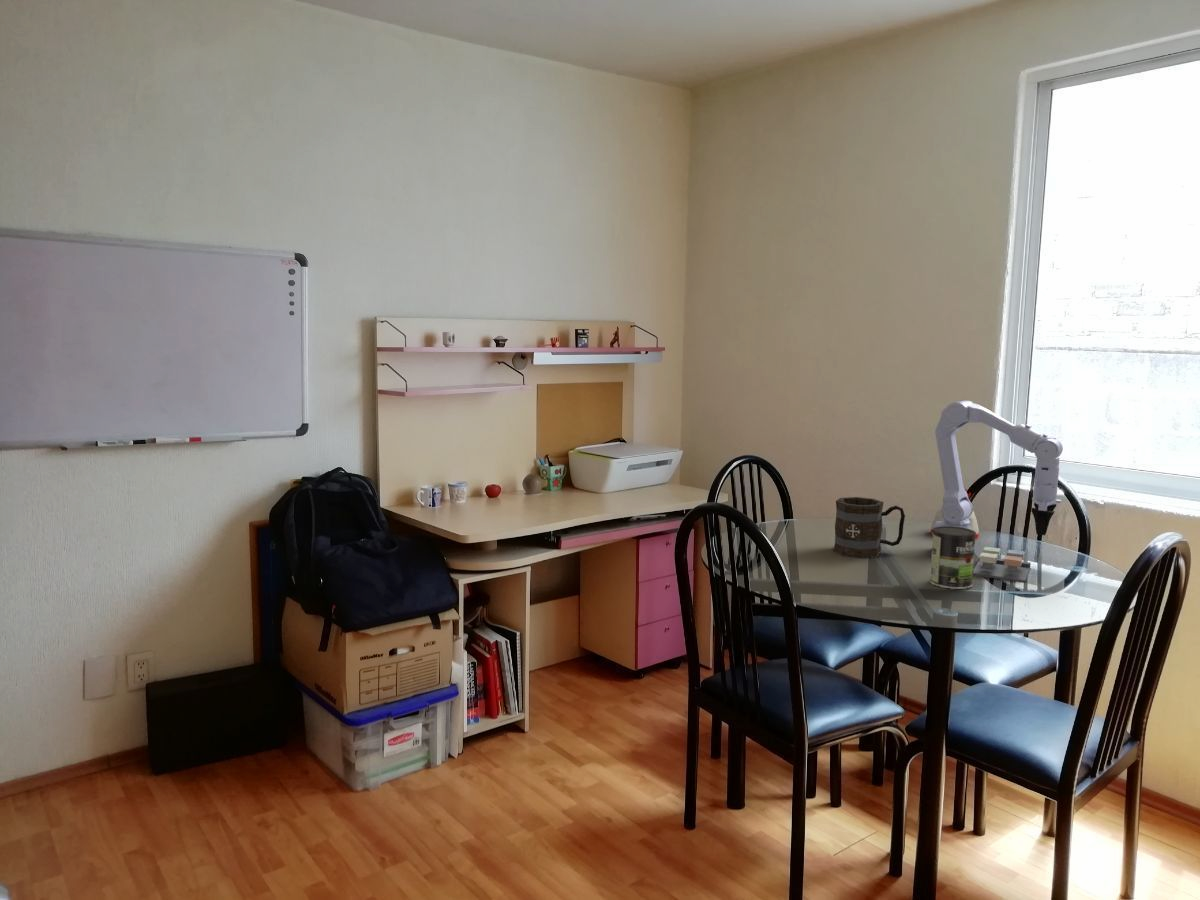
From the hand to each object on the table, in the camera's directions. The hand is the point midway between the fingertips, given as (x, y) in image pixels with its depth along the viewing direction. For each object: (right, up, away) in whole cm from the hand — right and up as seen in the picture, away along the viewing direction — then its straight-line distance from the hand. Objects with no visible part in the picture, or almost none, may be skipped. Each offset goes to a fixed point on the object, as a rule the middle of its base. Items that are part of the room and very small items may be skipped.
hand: (1041, 531), depth 247 cm
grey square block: (-8, -8, -3) cm, 12 cm away
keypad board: (-13, -10, -4) cm, 17 cm away
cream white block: (-14, -8, 0) cm, 16 cm away
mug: (-43, -8, +16) cm, 46 cm away
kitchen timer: (-10, -5, +36) cm, 38 cm away
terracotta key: (-12, -9, -9) cm, 17 cm away
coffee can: (-31, -12, -15) cm, 36 cm away
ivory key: (-17, -9, -6) cm, 20 cm away
